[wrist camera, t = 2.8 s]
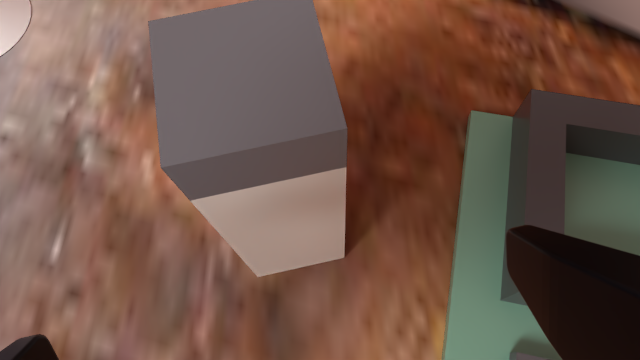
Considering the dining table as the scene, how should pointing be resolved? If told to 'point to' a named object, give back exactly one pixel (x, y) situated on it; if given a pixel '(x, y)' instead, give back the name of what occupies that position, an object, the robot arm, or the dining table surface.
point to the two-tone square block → (254, 129)
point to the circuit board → (536, 209)
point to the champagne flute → (13, 22)
